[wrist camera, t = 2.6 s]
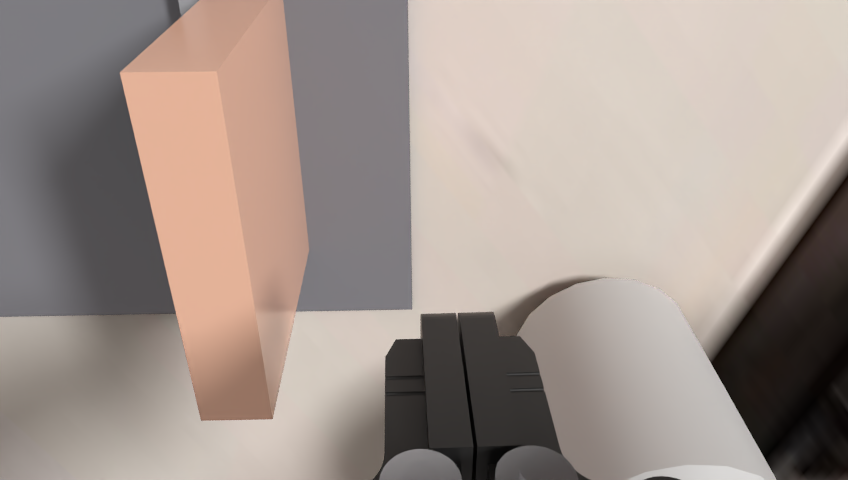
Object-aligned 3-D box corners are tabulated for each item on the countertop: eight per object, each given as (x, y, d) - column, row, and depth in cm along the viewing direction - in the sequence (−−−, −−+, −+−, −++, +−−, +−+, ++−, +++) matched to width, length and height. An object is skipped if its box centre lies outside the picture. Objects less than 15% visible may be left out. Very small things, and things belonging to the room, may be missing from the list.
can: (476, 359, 31) (512, 627, 21) (581, 235, 28) (685, 480, 18) (606, 420, 33) (697, 690, 23) (717, 312, 30) (880, 569, 20)
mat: (405, -125, 21) (405, -122, 20) (412, 303, 29) (412, 321, 28) (-272, -122, 21) (-307, -118, 20) (-71, 312, 29) (-88, 330, 28)
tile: (281, -18, 22) (216, 71, 14) (309, 249, 27) (272, 419, 20) (213, -17, 22) (112, 72, 14) (254, 250, 27) (195, 420, 20)
